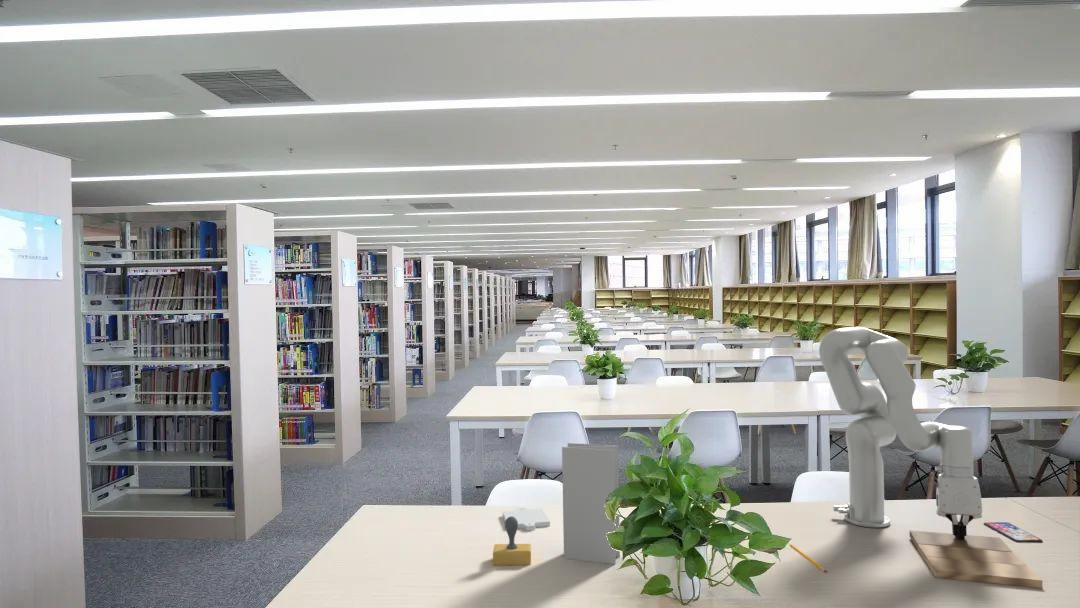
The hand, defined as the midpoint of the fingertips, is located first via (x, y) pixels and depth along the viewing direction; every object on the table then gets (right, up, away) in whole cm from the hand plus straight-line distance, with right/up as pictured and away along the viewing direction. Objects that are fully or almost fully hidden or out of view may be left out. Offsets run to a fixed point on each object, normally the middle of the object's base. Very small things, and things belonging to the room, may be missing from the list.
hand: (959, 538), depth 179 cm
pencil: (-45, -4, -6) cm, 45 cm away
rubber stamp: (-123, -5, -5) cm, 123 cm away
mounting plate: (-120, -5, +27) cm, 123 cm away
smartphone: (+21, -2, +9) cm, 23 cm away
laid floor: (-5, -2, -15) cm, 16 cm away
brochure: (-102, -4, -3) cm, 102 cm away
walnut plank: (-1, -2, -1) cm, 3 cm away
